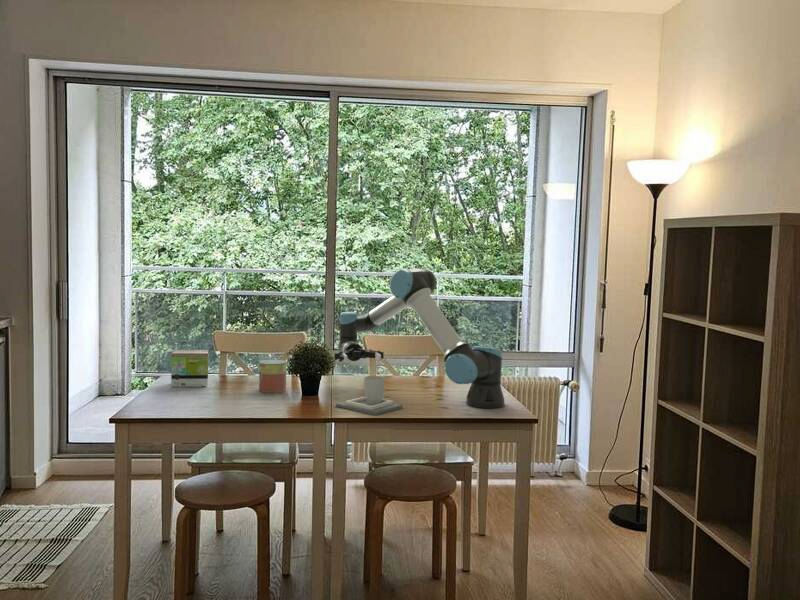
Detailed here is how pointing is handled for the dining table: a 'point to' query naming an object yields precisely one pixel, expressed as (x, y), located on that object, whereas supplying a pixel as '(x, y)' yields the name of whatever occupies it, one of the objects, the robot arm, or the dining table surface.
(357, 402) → the grey rectangular frame
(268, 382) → the canned food
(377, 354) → the robot arm
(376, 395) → the cup
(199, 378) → the tea box
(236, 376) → the dining table surface
